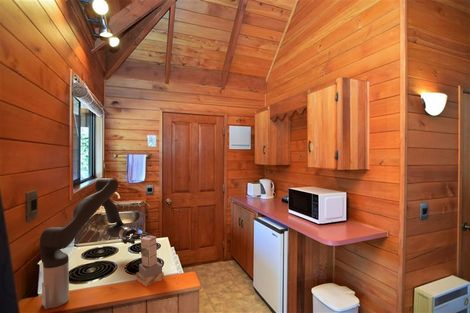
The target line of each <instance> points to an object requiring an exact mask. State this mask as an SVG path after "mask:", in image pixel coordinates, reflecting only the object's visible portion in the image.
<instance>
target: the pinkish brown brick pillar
mask: <svg viewBox="0 0 470 313" xmlns="http://www.w3.org/2000/svg"><path fill="white" fill-rule="evenodd" d="M140 238H141V237H140ZM157 247H158V246H157V236H154V235H149V236H145V237H143V238H141V240H140V249H141V250H140V252H141V264H142V266H146V267H151V266H153V265H155V264H157V261H158V256H157V254H158V252H157Z"/></svg>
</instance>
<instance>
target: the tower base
mask: <svg viewBox="0 0 470 313" xmlns="http://www.w3.org/2000/svg"><path fill="white" fill-rule="evenodd" d="M164 274H165V273H164V272H163V271H162V273H161V274H157V275H154V276H151V277H148V278H144V277H143V276H142V275H141V273H140V272H139V271H138V272H136V276H135V278H136V279H135V280H136V281H137V280H138V283H140V282H141V283H142V284H141V283H140V284H141V285H143V284H144V285H145V286H146V287H148V286H150V285H149V284H151V285H153V284H155V283H154V282H156V283H158V282H160V281H162V279H163V280H164V278H165V276H164ZM157 281H158V282H157ZM152 283H153V284H152ZM144 285H143V286H144ZM147 285H148V286H147ZM145 286H144V287H145Z"/></svg>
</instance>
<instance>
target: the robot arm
mask: <svg viewBox="0 0 470 313" xmlns="http://www.w3.org/2000/svg"><path fill="white" fill-rule="evenodd" d="M118 188H119V181H118V180H117V179H116V178H111V177H110V178H109V177H105V178H103V177H101V178H98V179H97V180H96V182H95V191H96V192H95V193H92V194H89V195H88V196H86V197H84V198H83V199H81V201H80V202H79V203H78V204H76V205H75V206H74V209H73V211H72V212H73V213H72V220H71V221H70V222H69V223H68V224H67V225H65V226H63V227H62V226H61V227H59V226H58V227H57V226H56V227H53V226H52V227H47V228H45V229H44V230H43V231H42V232H41V235H40V238H39V253H40V261H41V263H42V278H43V279H42V283H41V305H42V306H43V308H44V310H48V309H54V308H58V307H61V306H63V305H64V304H66V303H67V302H68V301H69V300H70V287H69V286H70V278H69V277H70V273H69V272H70V271H69V268H70V265H69V263H70V262H69V261H70V259H69V254H67V253H66V252H63V251H62V250H64V249H66V248H68V247H69V246H70V245H71V244H72V242H73V241H74V239H75V238H76V237H77V235H79V233H80V231H81V230H82V229H83V227H84V226H85V225H86V223H87V222H89V220H90V219H91V218H92V217H93V216H94V215H95V213H96V212H97V211H99V209H100V208H101V207H102V206H103V208H104V211H105V215H106V219H107V222H108V224H112V225H110V226H108V227H107V229H106V233H107V235H108V236H110V238H120V240H121V241H120V242H121V243H123V244H125V245H126V244H132V245H135V244H136V242H135V241H137V240H139V241H141V238H143V237H145V236H150V233H149V232H146V231H142V232H141V233H140V232H138V231H137V230H136V229H135V228H131V227H129V226H126V225H125V224H124V222H123V220H122V219H121V216H120V212H119V208H118V206H117V205H116V204H115V203H114V202H113V201H112V199H111V197H112V196H113V195H114V194H115V193H116V192H117V190H118Z"/></svg>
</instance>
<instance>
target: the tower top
mask: <svg viewBox="0 0 470 313" xmlns="http://www.w3.org/2000/svg"><path fill="white" fill-rule="evenodd" d="M138 272H140V273H141V275H142V276H143V277H144V278H148V277H151V276H154V275H157V274H161V273H162V272H163V264H161V263H160V262H159V261H158V260H157V264H155V265H153V266H151V267H146V266H142V263H139V264H138Z"/></svg>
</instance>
